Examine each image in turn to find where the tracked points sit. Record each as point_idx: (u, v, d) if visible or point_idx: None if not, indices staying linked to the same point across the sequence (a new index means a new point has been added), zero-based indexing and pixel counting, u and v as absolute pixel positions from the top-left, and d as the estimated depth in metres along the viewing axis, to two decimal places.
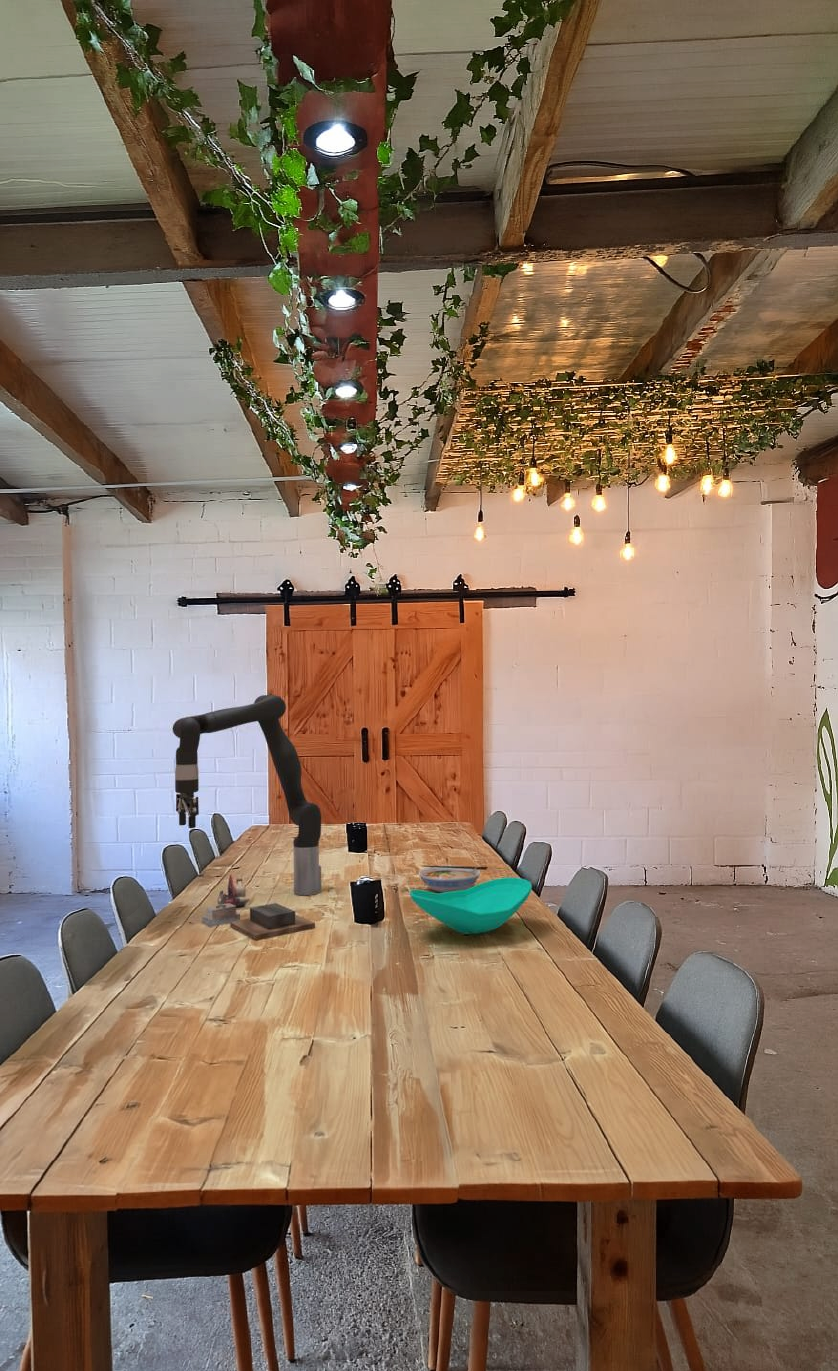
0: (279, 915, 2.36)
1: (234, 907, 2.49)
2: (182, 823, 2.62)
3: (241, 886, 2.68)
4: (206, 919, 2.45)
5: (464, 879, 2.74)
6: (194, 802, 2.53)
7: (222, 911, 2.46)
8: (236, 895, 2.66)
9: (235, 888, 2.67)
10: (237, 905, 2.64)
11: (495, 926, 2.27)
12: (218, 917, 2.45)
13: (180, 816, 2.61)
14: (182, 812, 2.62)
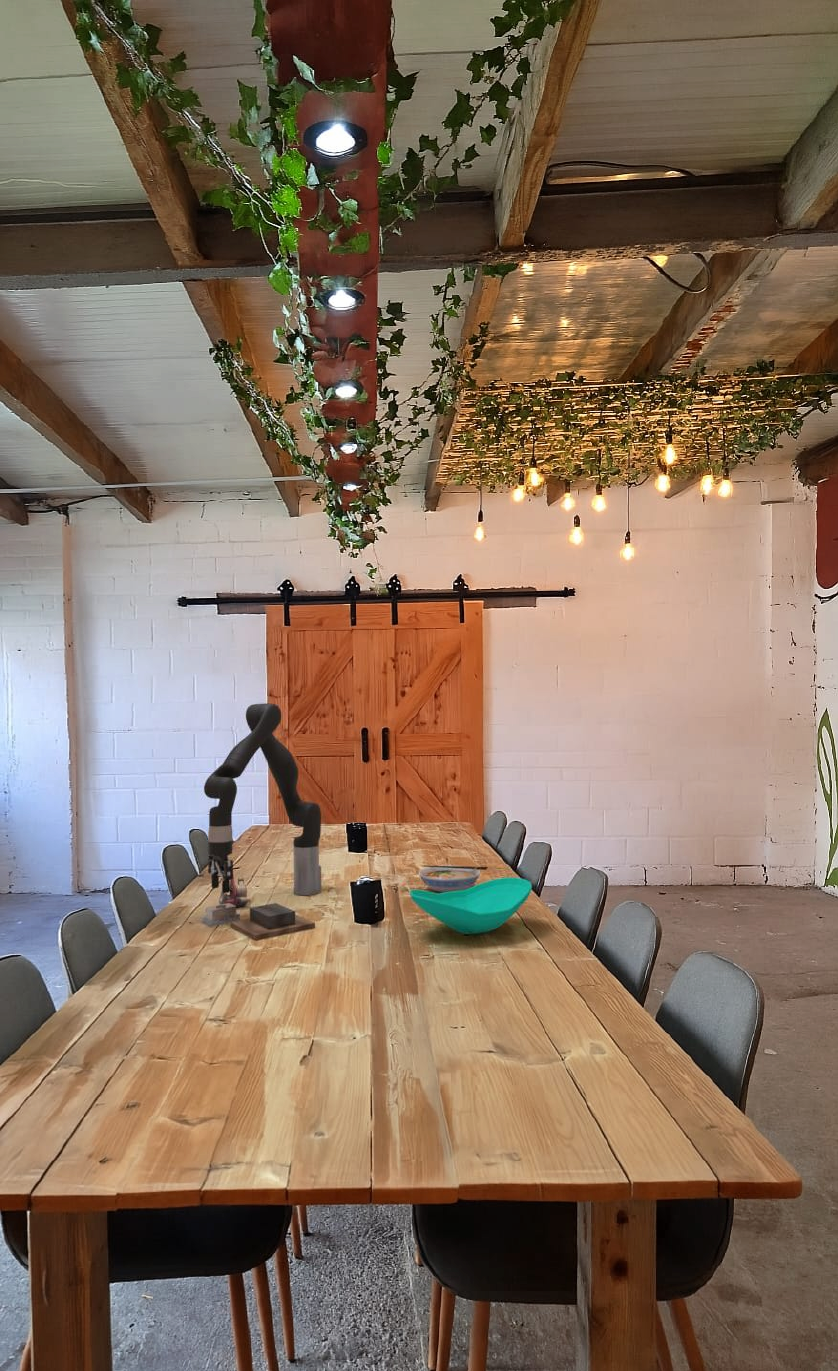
0: (279, 915, 2.36)
1: (234, 907, 2.49)
2: (215, 886, 2.52)
3: (242, 886, 2.68)
4: (206, 919, 2.45)
5: (464, 879, 2.74)
6: (228, 866, 2.43)
7: (222, 911, 2.46)
8: (237, 895, 2.66)
9: (236, 888, 2.67)
10: (238, 905, 2.64)
11: (495, 926, 2.27)
12: (218, 917, 2.45)
13: (213, 879, 2.51)
14: (215, 874, 2.52)
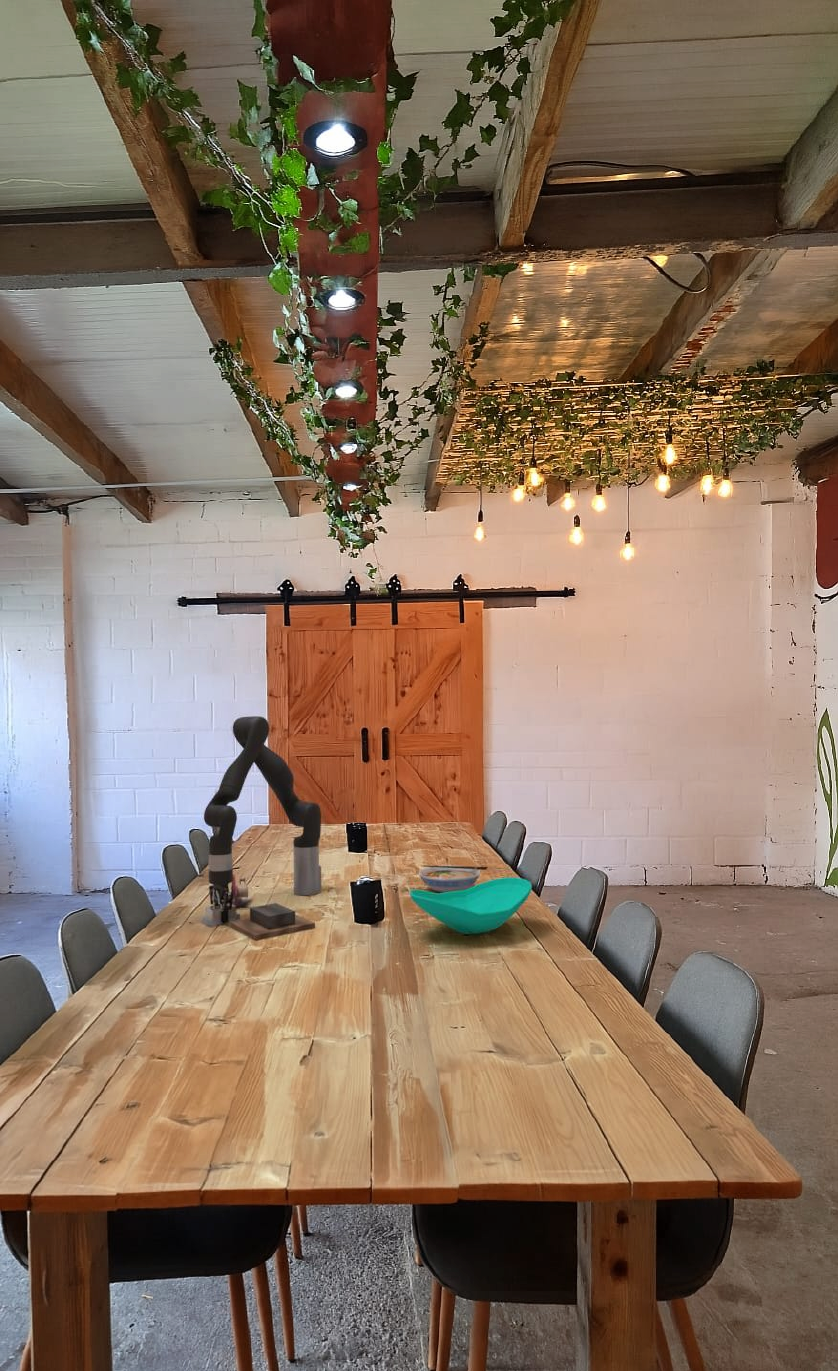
0: (279, 915, 2.36)
1: (234, 907, 2.49)
2: None
3: (244, 886, 2.68)
4: (206, 919, 2.45)
5: (464, 879, 2.74)
6: (228, 898, 2.44)
7: None
8: (238, 895, 2.66)
9: (238, 888, 2.67)
10: (239, 905, 2.64)
11: (495, 926, 2.27)
12: (218, 917, 2.45)
13: None
14: None
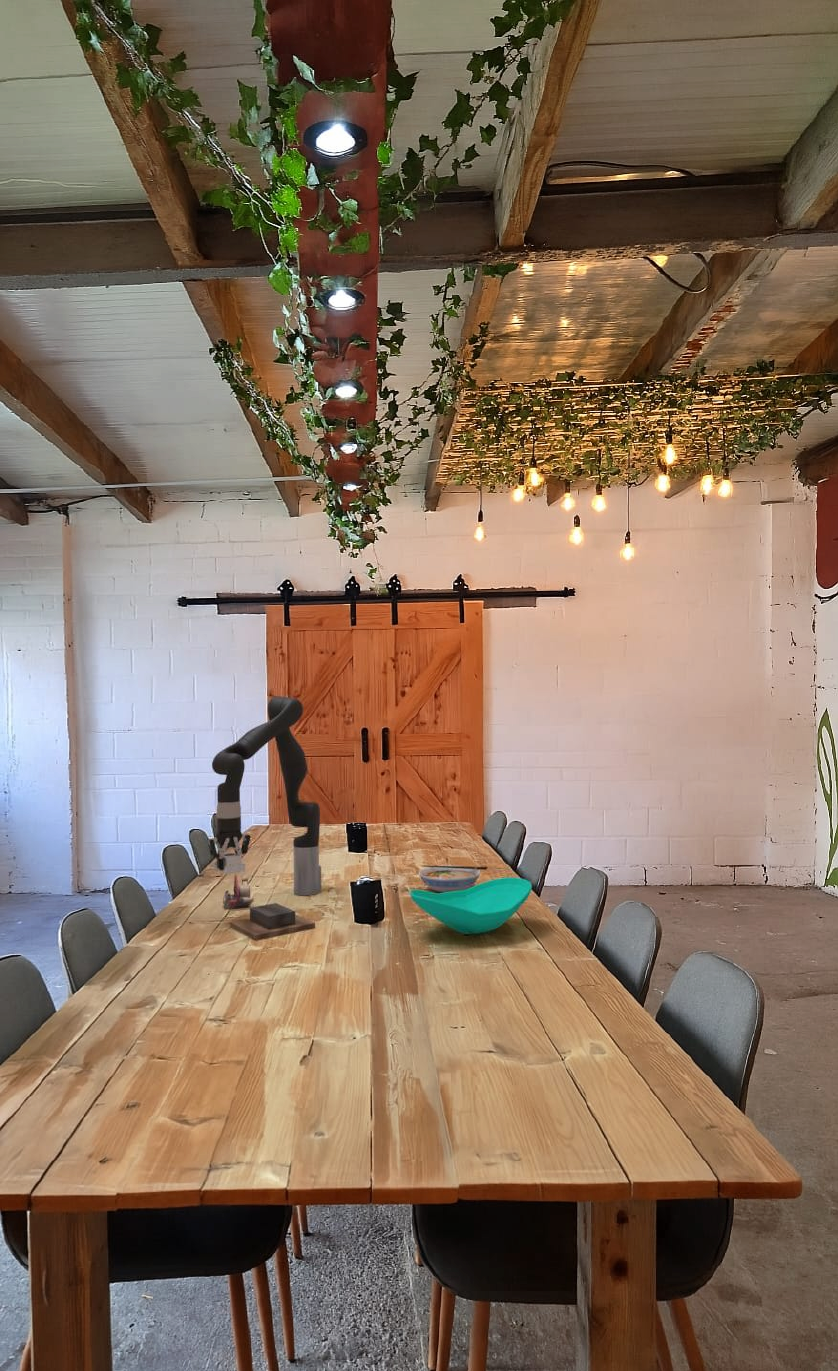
0: (279, 915, 2.36)
1: (225, 858, 2.44)
2: None
3: (246, 886, 2.68)
4: None
5: (464, 879, 2.74)
6: (209, 844, 2.44)
7: None
8: (240, 895, 2.66)
9: (240, 888, 2.66)
10: (241, 905, 2.64)
11: (495, 926, 2.27)
12: None
13: None
14: None
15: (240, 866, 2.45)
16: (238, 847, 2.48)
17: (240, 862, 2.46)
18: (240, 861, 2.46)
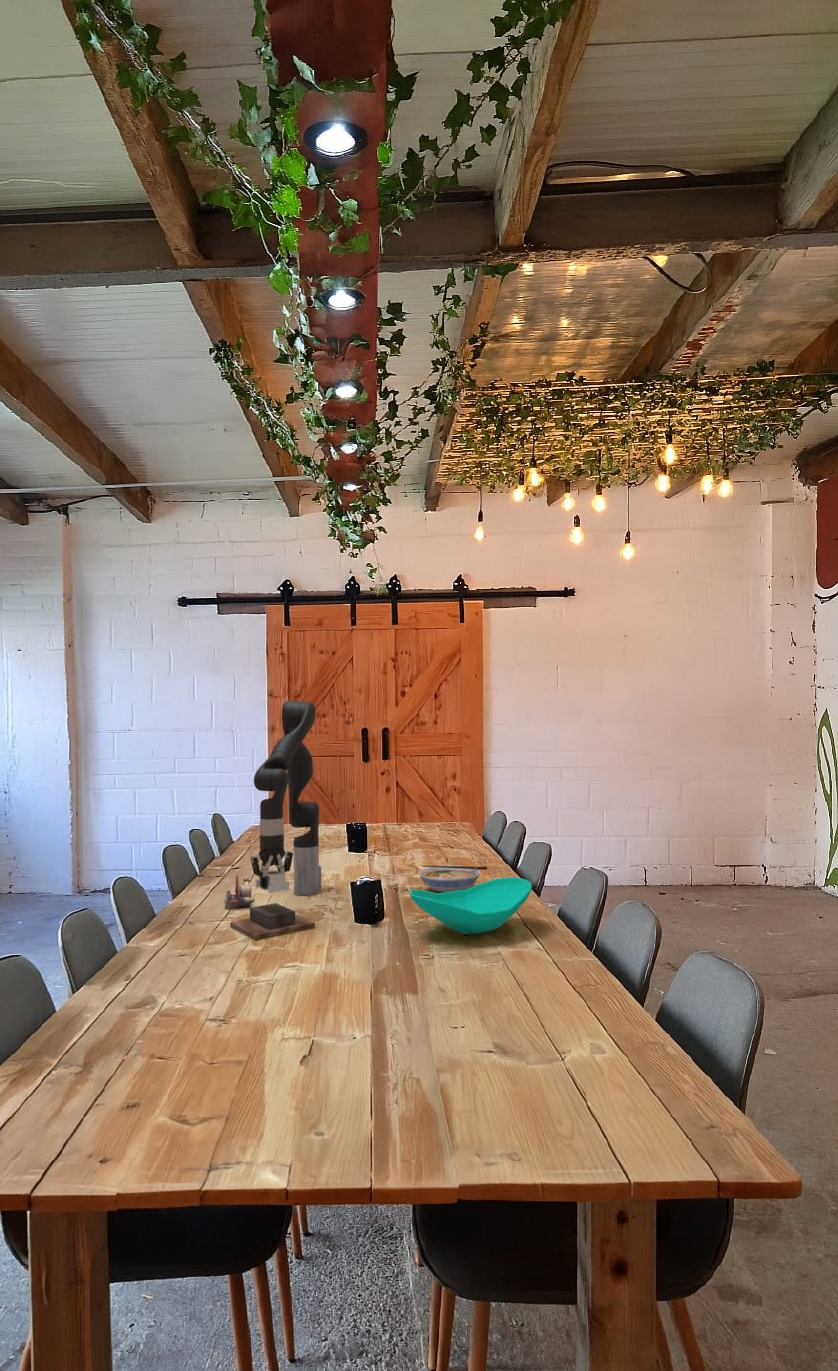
0: (279, 915, 2.36)
1: (269, 876, 2.38)
2: None
3: (247, 886, 2.68)
4: None
5: (464, 879, 2.74)
6: (253, 863, 2.38)
7: None
8: (242, 895, 2.66)
9: (241, 888, 2.66)
10: (242, 905, 2.64)
11: (495, 926, 2.27)
12: None
13: None
14: None
15: (284, 884, 2.39)
16: (281, 865, 2.42)
17: (284, 880, 2.40)
18: (284, 879, 2.40)
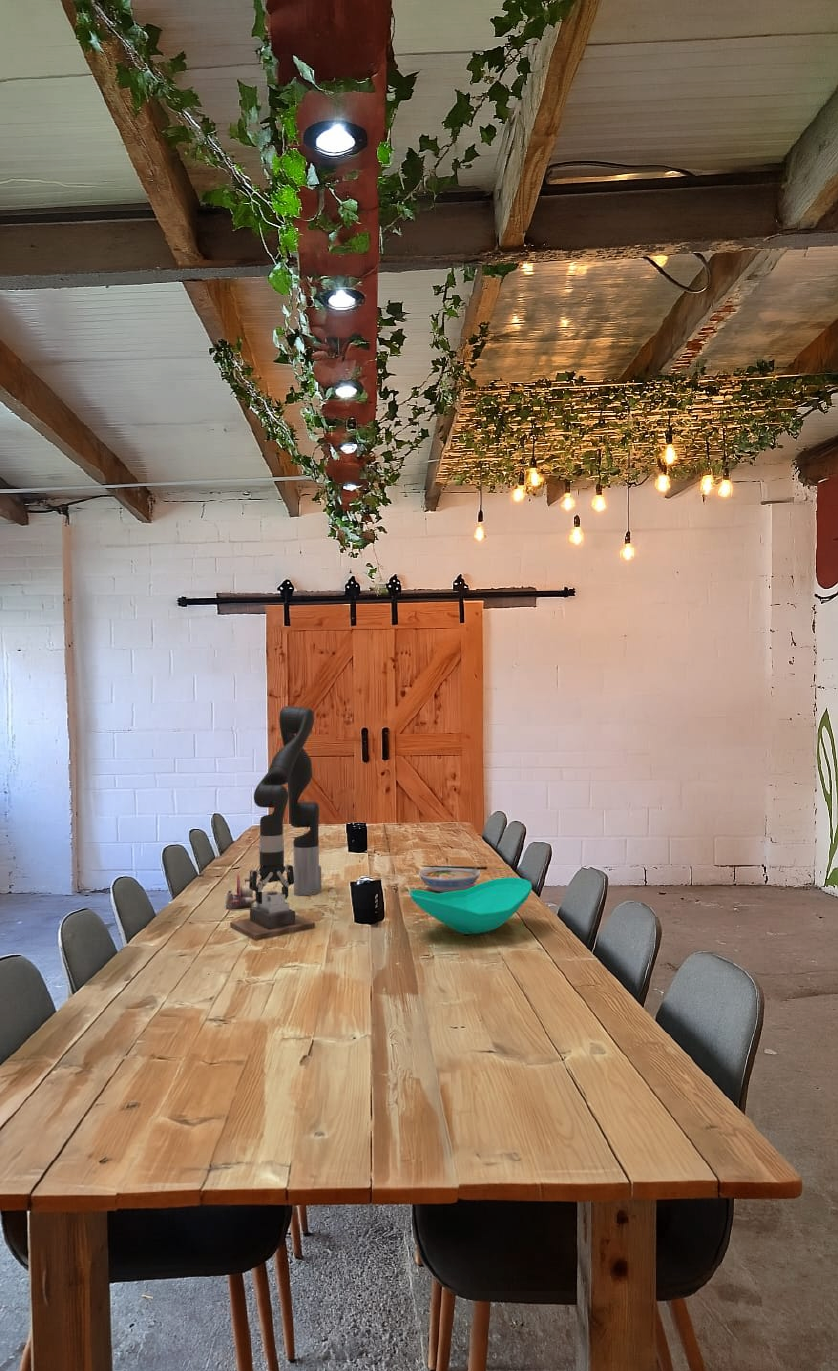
0: (279, 915, 2.36)
1: (269, 898, 2.38)
2: None
3: (248, 886, 2.68)
4: None
5: (464, 879, 2.74)
6: (251, 876, 2.38)
7: (263, 896, 2.41)
8: (243, 895, 2.65)
9: (242, 888, 2.66)
10: (243, 905, 2.64)
11: (495, 926, 2.27)
12: None
13: (282, 889, 2.45)
14: (283, 885, 2.45)
15: (284, 906, 2.39)
16: (283, 880, 2.43)
17: (284, 901, 2.40)
18: (284, 900, 2.40)
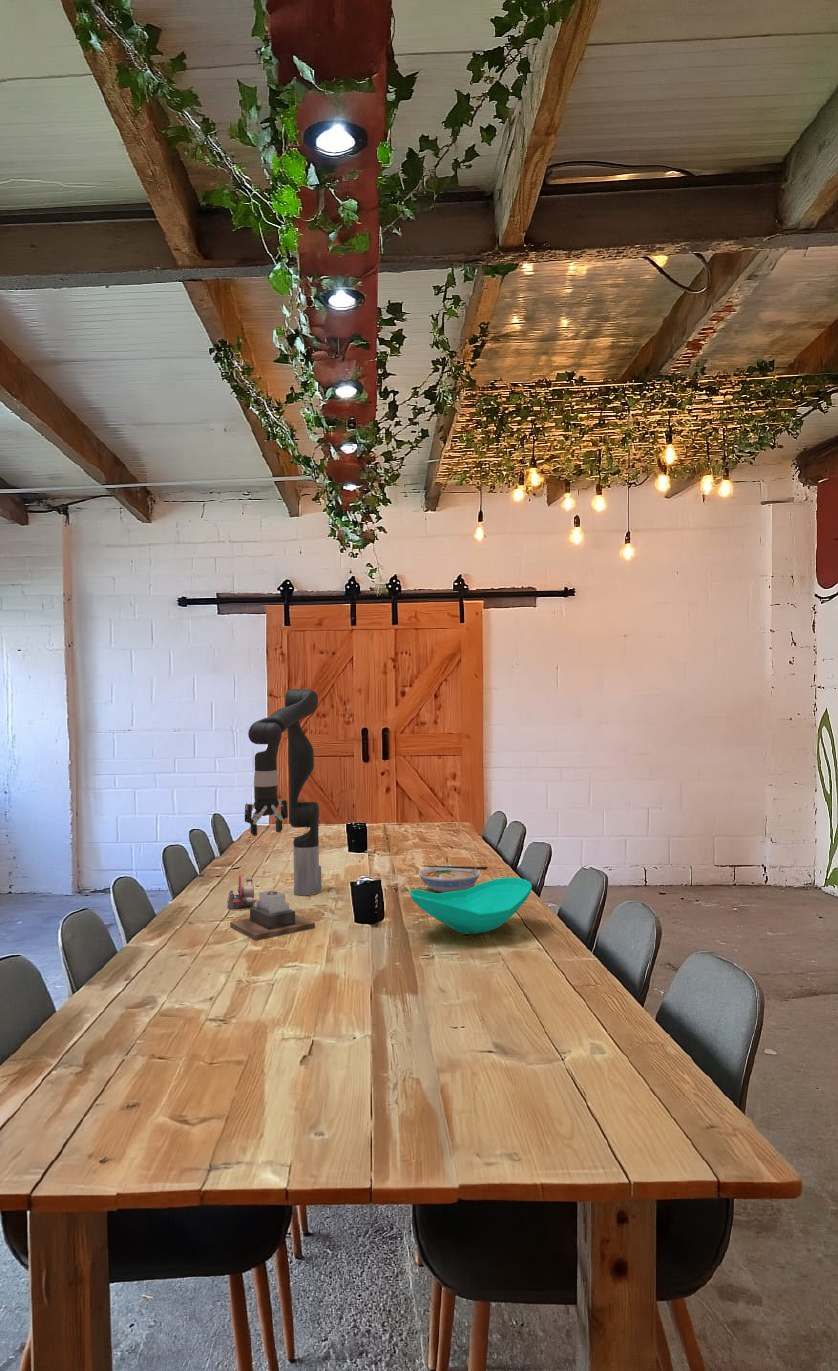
0: (279, 915, 2.36)
1: (269, 898, 2.38)
2: (277, 830, 2.55)
3: (250, 886, 2.68)
4: None
5: (464, 879, 2.74)
6: (246, 809, 2.48)
7: (263, 896, 2.41)
8: (244, 895, 2.65)
9: (243, 888, 2.66)
10: (244, 905, 2.64)
11: (495, 926, 2.27)
12: (261, 901, 2.42)
13: (276, 822, 2.55)
14: (277, 819, 2.55)
15: (284, 906, 2.39)
16: (277, 814, 2.53)
17: (284, 901, 2.40)
18: (284, 900, 2.40)
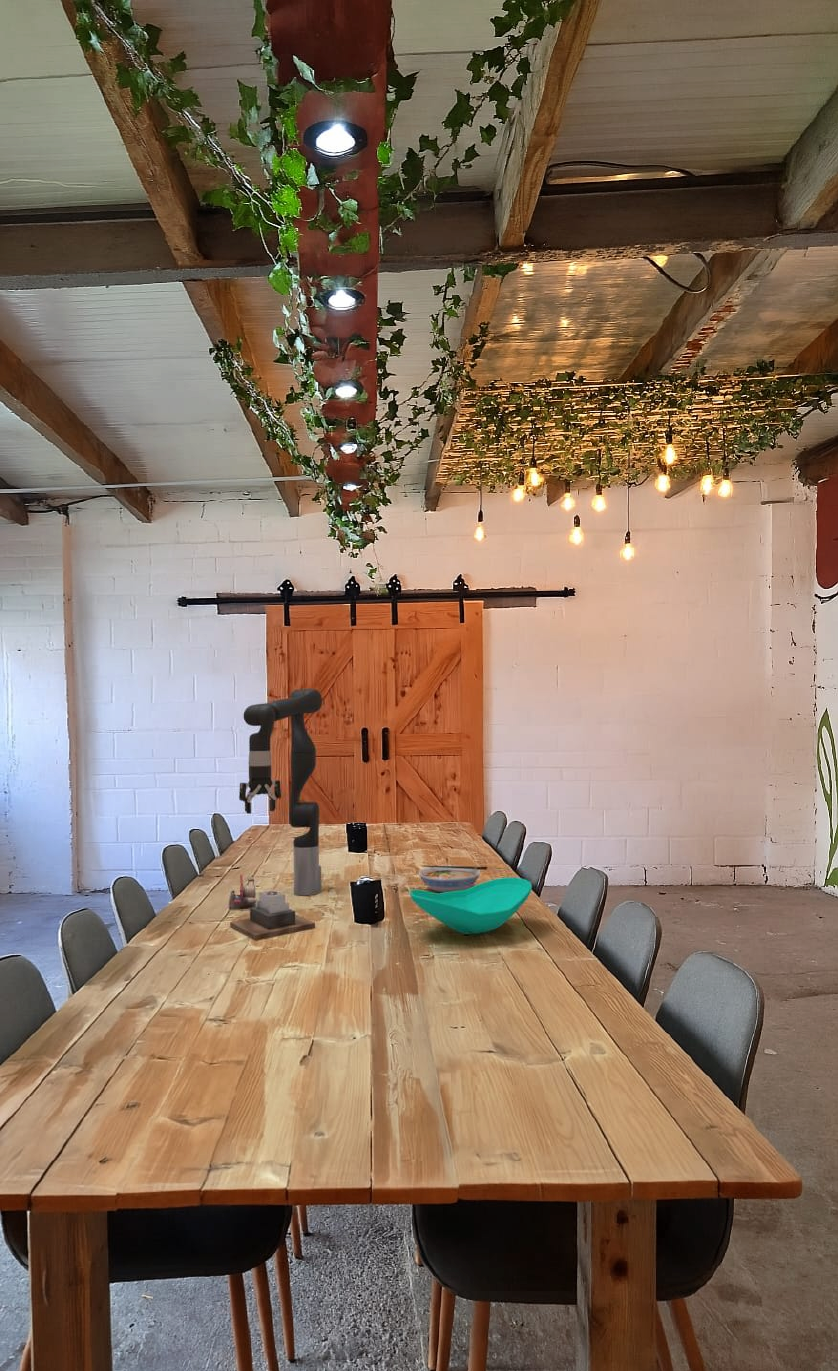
0: (279, 915, 2.36)
1: (269, 898, 2.38)
2: (270, 809, 2.65)
3: (251, 886, 2.67)
4: None
5: (464, 879, 2.74)
6: (241, 788, 2.58)
7: (263, 896, 2.41)
8: (245, 895, 2.65)
9: (245, 888, 2.66)
10: (245, 905, 2.64)
11: (495, 926, 2.27)
12: (261, 901, 2.42)
13: (269, 802, 2.65)
14: (271, 798, 2.65)
15: (284, 906, 2.39)
16: (271, 793, 2.63)
17: (284, 901, 2.40)
18: (284, 900, 2.40)
